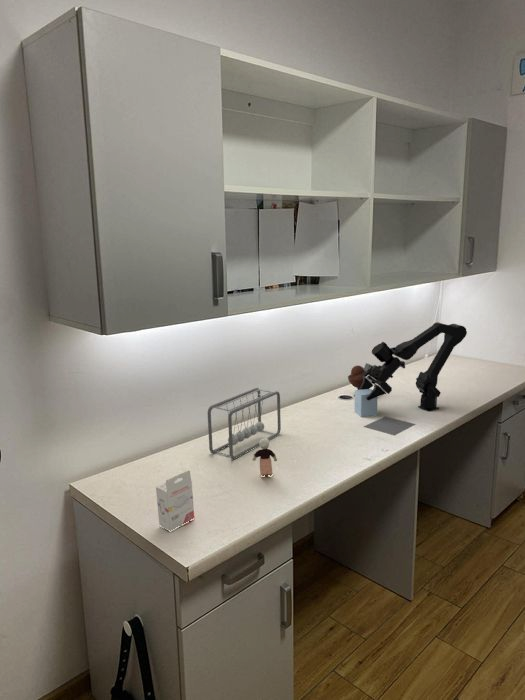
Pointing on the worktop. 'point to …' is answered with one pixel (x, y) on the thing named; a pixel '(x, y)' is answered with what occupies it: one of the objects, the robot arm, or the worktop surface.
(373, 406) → the cover
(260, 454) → the grandmother figurine
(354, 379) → the ice cream bowl
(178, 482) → the ink cartridge box
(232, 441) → the newton's cradle
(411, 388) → the worktop surface
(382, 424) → the mat
